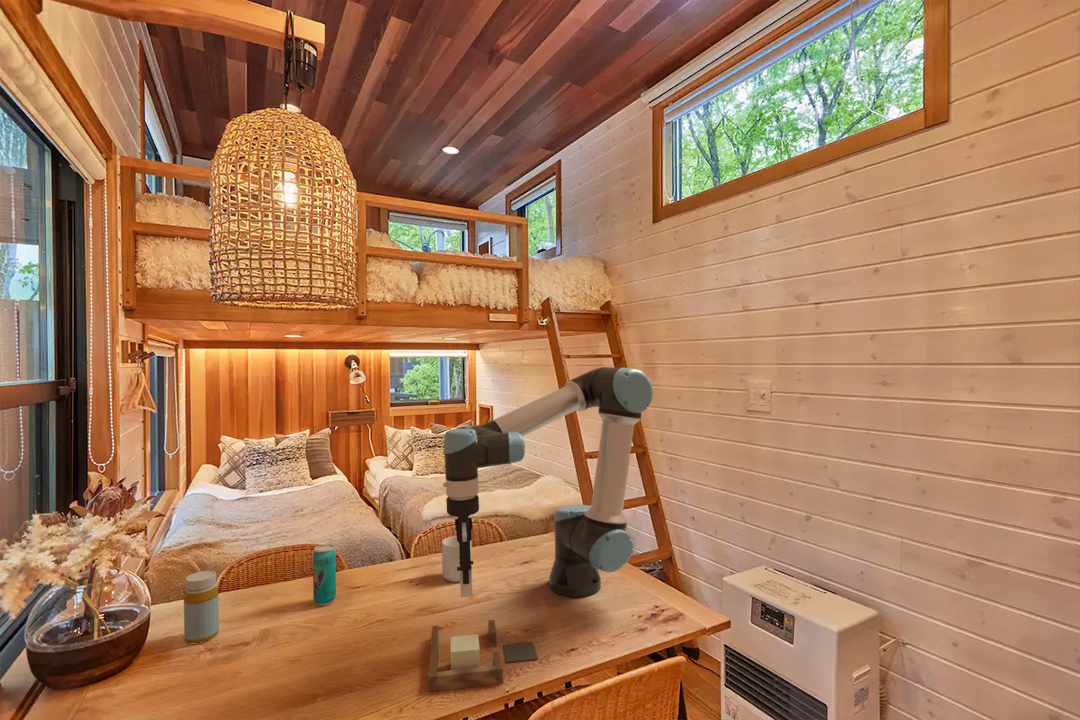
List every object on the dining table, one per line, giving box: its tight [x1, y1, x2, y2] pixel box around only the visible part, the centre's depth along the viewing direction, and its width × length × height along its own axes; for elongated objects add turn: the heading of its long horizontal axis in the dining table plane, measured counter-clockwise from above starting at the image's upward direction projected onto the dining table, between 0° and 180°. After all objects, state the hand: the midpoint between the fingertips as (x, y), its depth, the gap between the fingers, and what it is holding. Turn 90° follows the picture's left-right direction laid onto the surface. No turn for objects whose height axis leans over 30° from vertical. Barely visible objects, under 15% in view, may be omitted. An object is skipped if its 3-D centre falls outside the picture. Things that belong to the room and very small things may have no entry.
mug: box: [441, 535, 473, 583], centre depth 160 cm, size 12×9×11 cm
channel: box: [428, 619, 504, 693], centre depth 116 cm, size 15×20×3 cm
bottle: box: [183, 570, 220, 644], centre depth 125 cm, size 7×7×15 cm
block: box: [450, 633, 481, 670], centre depth 112 cm, size 6×6×6 cm
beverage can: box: [312, 544, 337, 607], centre depth 142 cm, size 6×6×15 cm
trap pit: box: [502, 640, 539, 664], centre depth 118 cm, size 7×7×1 cm
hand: (466, 594), depth 122 cm, fingers closed
